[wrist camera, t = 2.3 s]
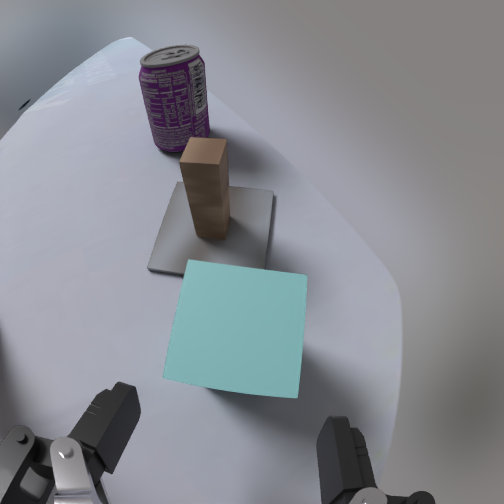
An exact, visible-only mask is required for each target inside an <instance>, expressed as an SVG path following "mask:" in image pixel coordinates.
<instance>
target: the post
mask: <svg viewBox="0 0 504 504" xmlns="http://www.w3.org/2000/svg"><path fill="white" fill-rule="evenodd" d="M179 164H180V168H181V173H182V177H183V182H177V184H176V186H175V189H174V191H173V194H172V197H171V199H170V202H169V205H168V207H167V210H166V213H165V216H164V218H163V221H162V224H161V227H160V230H159V233H158V236H157V239H156V242H155V245H154V248H153V251H152V254H151V257H150V260H149V263H148V267H147V268H148V270H151V271H157V272H163V273H169V274H176V275H182V276H184V274H185V270H186V266H187V262H188V259H190V260H197V261H204V262H211V263H219V264H226V265H233V266H241V267H249V268H256V269H264V270H265V261H266V253H267V244H268V235H269V226H270V218H271V208H272V199H273V191H268V190H259V189H251V188H242V187H233V186H229V177H228V153H227V139H215V138H196V137H190V139H189V141H188V143H187V146H186V148H185V150H184V152H183V154H182V157H181V159H180V161H179Z"/></svg>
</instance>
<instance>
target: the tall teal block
mask: <svg viewBox="0 0 504 504" xmlns="http://www.w3.org/2000/svg"><path fill="white" fill-rule="evenodd" d="M306 294H307V275H304V274H296V273H288V272H280V271H272V270H264V269H256V268H249V267H241V266H233V265H226V264H219V263H211V262H204V261H197V260H190V259H188V262H187V266H186V270H185V274H184V278H183V282H182V287H181V291H180V295H179V299H178V304H177V308H176V313H175V317H174V322H173V327H172V331H171V336H170V341H169V346H168V351H167V356H166V361H165V367H164V372H163V378H164V379H168V380H173V381H177V382H182V383H186V384H191V385H196V386H201V387H207V388H212V389H218V390H224V391H231V392H238V393H246V394H254V395H263V396H273V397H286V398H298V391H299V382H300V372H301V362H302V350H303V338H304V325H305V311H306Z"/></svg>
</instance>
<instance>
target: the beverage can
mask: <svg viewBox="0 0 504 504" xmlns="http://www.w3.org/2000/svg"><path fill="white" fill-rule="evenodd" d="M140 64H141V69H140V73H139V81H140V86H141V90H142V95H143V99H144V103H145V107H146V112H147V116H148V120H149V124H150V128H151V131H152V135H153V139H154V143H155V145H156V146H157V147H158V148H160V149H162V150H165V151H170V152H178V151H184V150H185V148H186V146H187V143H188V141H189V139H190V137H196V138H207V137H208V135H209V133H210V128H209V116H208V104H207V91H206V78H205V63H204V61H203V59H202V58H201V57H200V55H199V48H198V47H196V46H192V45H176V46H169V47H165V48H161V49H158V50H155V51H152V52H150V53H148V54H146V55H145V56H143V57H142V58H141V60H140Z"/></svg>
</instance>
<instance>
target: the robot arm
mask: <svg viewBox="0 0 504 504" xmlns="http://www.w3.org/2000/svg"><path fill="white" fill-rule="evenodd" d="M140 414H141V408H140V403H139V399H138V395H137V390H136V387H135V386H132V385H128V384H125V383H122V382H117V383H116V384H115V386H114V387H113V389H112V390H111V391H110V390H108V389H105V390H104V391H102V392H101V393H99V394H97V395H96V397H95V398H94V400H93V401H92V402H91V405H89V407H88V408H87V411H85V412H84V414H83V415H82V417H81V418H80V420H79V421H78V423H77V424H76V426H75V427H74V429H73V430H72V432H71V433H70V434H69V435H68V436H67V437H60V438H58V439H56V440H50V439H46V438H42V437H38V436H35V435H34V434H33V432H32V431H31V430H30V429H29V428H28V427H26V426H22V425H19V426H15V427H13V428H12V429H11V430H10V431H9V433H8V434H7V436H6V437H5V439H4V440H3V442H2V443H1V444H0V504H46V502H47V500H48V498H49V495H50V493H51V491H52V489H53V487H54V485H55V483H56V487H57V494H55V495H54V503H55V504H111V503H110V500H109V498H108V495H107V492H106V489H105V486H104V483H103V480H102V478H101V476H102V474H103V472H104V471H105V472H108V473H110V474H113V472H114V470H115V468H116V466H117V463H118V461H119V459H120V457H121V455H122V453H123V451H124V449H125V447H126V445H127V443H128V441H129V439H130V437H131V435H132V433H133V431H134V429H135V427H136V425H137V423H138V421H139V418H140ZM317 457H318V467H319V478H320V489H321V501H322V504H435V500H434V498H433V496H432V495H431V494H430V493H428V492H425V491H418V492H415V493H413V494H412V495H411V496H409V497H401V496H390V495H386V494H385V493H384V492H383V491H381V490H380V489H378V488H377V486H376V483H375V479H374V475H373V471H372V467H371V462H370V458H369V456H368V451H367V448H366V443H365V439H364V436H363V435H362V433H361V432H360V431H359V430H358V428H350V425H349V421H348V418H347V417H346V416H329V417H328V418H327V420H326V422H325V424H324V426H323V428H322V430H321V432H320V434H319V436H318V439H317Z"/></svg>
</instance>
